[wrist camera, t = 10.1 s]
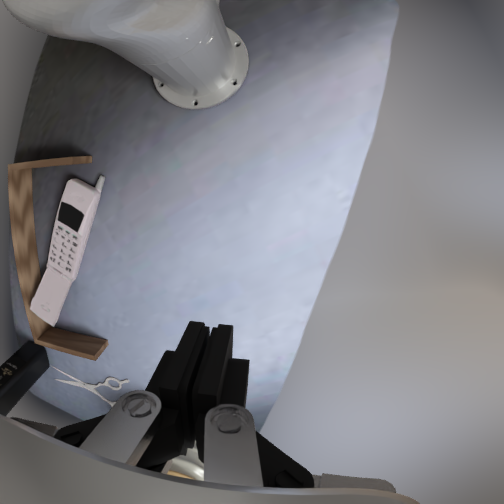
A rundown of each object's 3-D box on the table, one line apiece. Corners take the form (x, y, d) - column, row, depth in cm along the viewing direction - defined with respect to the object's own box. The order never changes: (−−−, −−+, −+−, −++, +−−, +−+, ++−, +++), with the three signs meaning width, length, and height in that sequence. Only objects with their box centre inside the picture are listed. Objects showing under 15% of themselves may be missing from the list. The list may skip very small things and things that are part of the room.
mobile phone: (28, 310, 40) (57, 165, 33) (47, 296, 46) (80, 163, 38) (54, 329, 40) (89, 183, 33) (72, 313, 46) (111, 179, 39)
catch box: (28, 162, 38) (8, 164, 34) (92, 155, 38) (72, 156, 33) (49, 330, 47) (34, 343, 43) (108, 344, 47) (95, 360, 42)
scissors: (134, 417, 52) (55, 390, 52) (135, 415, 52) (57, 388, 53) (128, 380, 49) (44, 353, 49) (130, 377, 49) (46, 351, 50)
